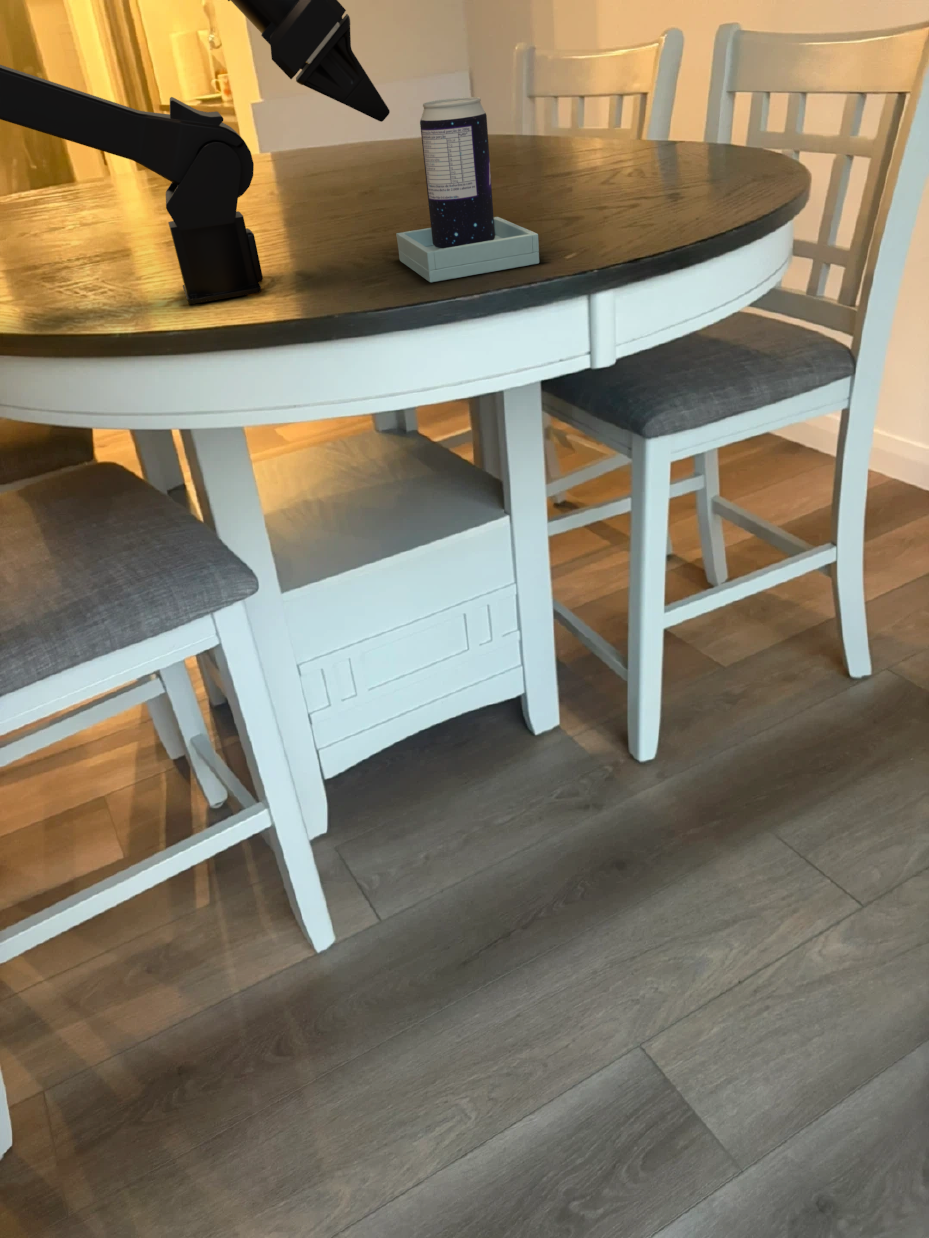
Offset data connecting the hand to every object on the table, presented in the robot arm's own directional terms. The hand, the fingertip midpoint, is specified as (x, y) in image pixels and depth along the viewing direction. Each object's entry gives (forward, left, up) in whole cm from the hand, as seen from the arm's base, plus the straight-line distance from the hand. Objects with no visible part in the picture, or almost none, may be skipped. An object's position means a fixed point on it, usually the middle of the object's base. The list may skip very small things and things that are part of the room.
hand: (381, 109), depth 78 cm
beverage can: (+5, -3, -12) cm, 14 cm away
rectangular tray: (+6, -3, -13) cm, 14 cm away
